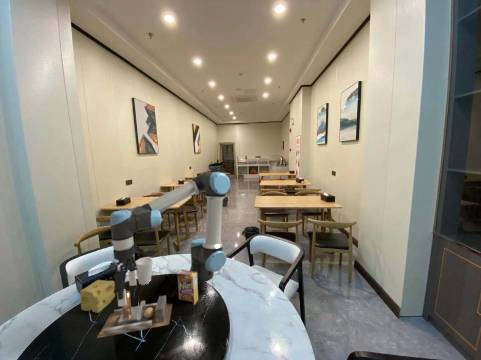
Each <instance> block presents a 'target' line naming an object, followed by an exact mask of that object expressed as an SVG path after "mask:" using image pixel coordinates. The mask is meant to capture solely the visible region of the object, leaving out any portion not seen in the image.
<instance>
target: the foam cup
mask: <svg viewBox="0 0 481 360" xmlns="http://www.w3.org/2000/svg"><path fill="white" fill-rule="evenodd" d="M135 262H136V265H137V266H136V267H135V268H137V270H135V273H136V276H137V277H136V278H137V281H138V284H139V285H140V284H141V285H140V286H145V284H146V285H148V284H150V283H151V282H150V281H152V270H153V258H152V257H150V256H146V257H141V258H139V259H136V260H135ZM149 282H150V283H149Z"/></svg>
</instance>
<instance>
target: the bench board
mask: <svg viewBox="0 0 481 360" xmlns="http://www.w3.org/2000/svg"><path fill="white" fill-rule="evenodd" d="M139 306H140V305H136V306H131V309H134V308H139ZM147 308H153V309H154V314H153V316H152V317H151V318H146V317H145V316H144V318H143V321H142V322H139V323H133V324H127V325H122V326H118V321H119V319H120V317H121V315H122V313H123V310H122V308H118V309H116V308H115V309H114V310H113V313H110V314H109V316H108V318H107V319H106V321H105V323H104V325H103V326H102V328H101V330H100V332H99V333H98V334H97V337H96V339H99V338H104V337H105V338H106V337H109V336H115V335H122V334H125V333H131V332H136V331H137V332H138V331H142V330H148V329H153V328H158V327H162V326H163V327H164V326H169V325H170V321H171V316H172V309H173V303H167V295H159V296H158V300H157V301H156V302H154V303H148V304H146V309H147Z"/></svg>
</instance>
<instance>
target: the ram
mask: <svg viewBox="0 0 481 360" xmlns="http://www.w3.org/2000/svg"><path fill="white" fill-rule="evenodd" d="M125 293H126V303H127V304H126V305H125V306H121V307H122V308H121V309H122V310H123V313H122V315H121V317H120V319H119V321H118V326H122V325H127V324H133V323H139V322H142V321H143V318H144V312H145V310H146V305H147V304H146V300H141V301H140V303H139V305H138V306H139V308H134V309H131V307H132V303H131V291H130V290H125Z"/></svg>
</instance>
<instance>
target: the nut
mask: <svg viewBox="0 0 481 360" xmlns="http://www.w3.org/2000/svg"><path fill="white" fill-rule="evenodd" d="M153 314H154V309H153V308H147V309H146V310H145V312H144V316H145V317H146V318H151V317H152V316H153Z"/></svg>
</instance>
